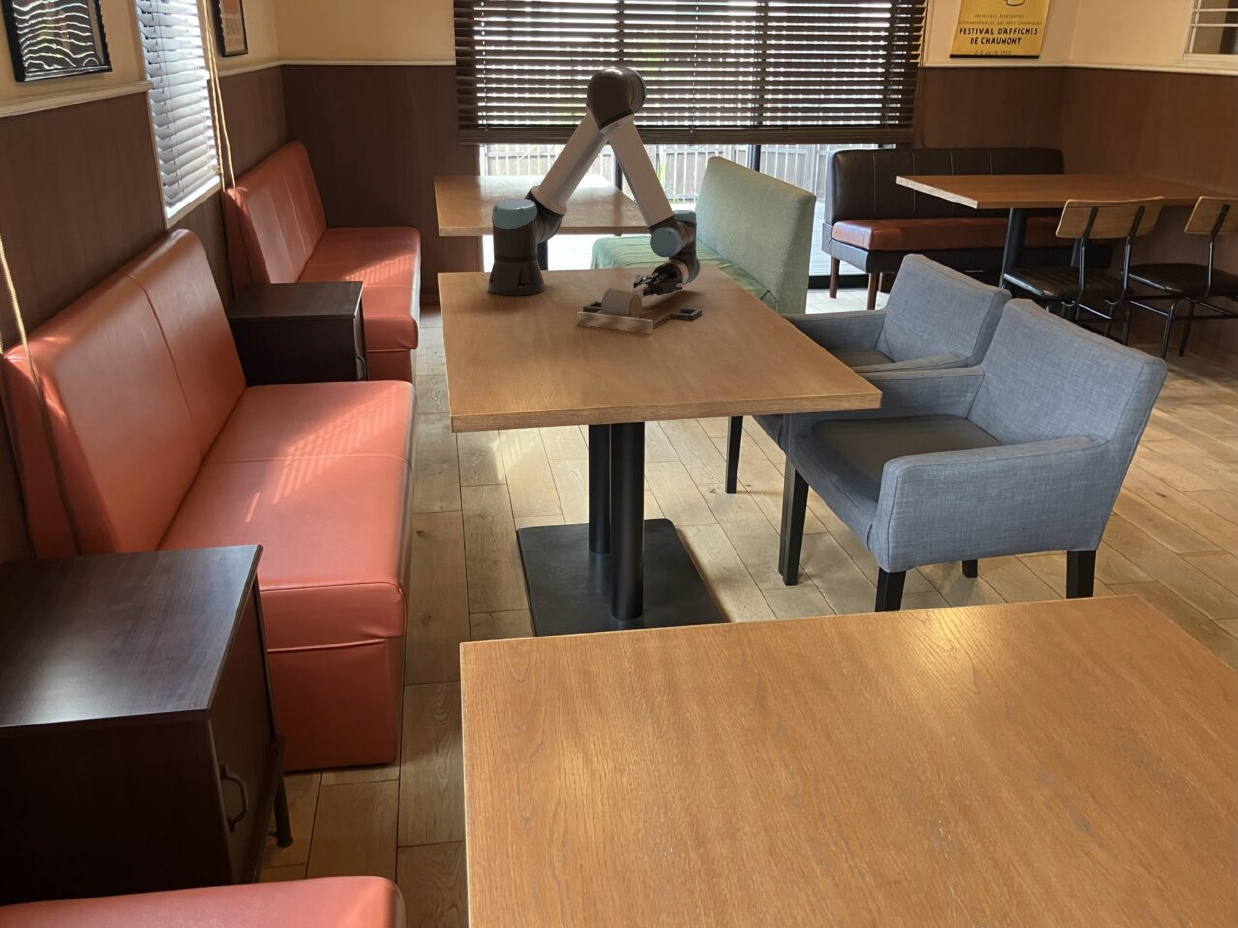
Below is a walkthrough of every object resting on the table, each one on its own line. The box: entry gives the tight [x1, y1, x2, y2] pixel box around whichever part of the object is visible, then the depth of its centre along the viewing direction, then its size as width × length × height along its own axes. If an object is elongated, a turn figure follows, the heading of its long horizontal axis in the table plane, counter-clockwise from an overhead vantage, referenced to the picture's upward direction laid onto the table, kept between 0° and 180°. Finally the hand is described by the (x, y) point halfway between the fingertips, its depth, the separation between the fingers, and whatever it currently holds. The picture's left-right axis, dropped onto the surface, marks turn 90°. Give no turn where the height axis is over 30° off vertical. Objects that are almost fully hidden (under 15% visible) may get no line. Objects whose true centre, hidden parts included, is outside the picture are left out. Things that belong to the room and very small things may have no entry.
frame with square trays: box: [576, 300, 703, 335], centre depth 251 cm, size 28×23×3 cm
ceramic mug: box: [601, 287, 643, 318], centre depth 249 cm, size 11×8×8 cm
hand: (635, 295), depth 249 cm, fingers closed
